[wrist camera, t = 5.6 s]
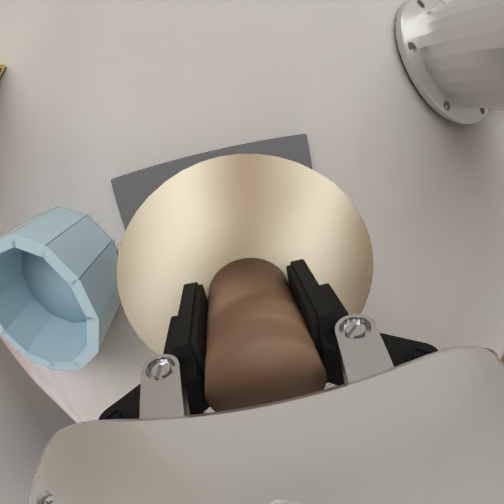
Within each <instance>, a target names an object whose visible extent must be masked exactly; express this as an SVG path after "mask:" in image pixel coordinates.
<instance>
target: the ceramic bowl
mask: <svg viewBox="0 0 504 504" xmlns="http://www.w3.org/2000/svg"><path fill="white" fill-rule="evenodd" d="M117 260H118V254H117V251H116V249H115V246H114V243H113V241H112V239H111V238H110V237H109V236H108V235H107V234H106V233H105V232H104V231H103V230H102V229H101V228H100V227H99V226H98V225H97V224H96V223H95V222H94V221H93V220H92V219H91V218H90V217H89V216H87V215H85V214H82V213H78V212H75V211H71V210H67V209H64V208H60V207H56V208H54V209H51V210H49V211H46V212H44V213H42V214H39V215H37V216H35V217H33V218H31V219H29V220H28V221H26V222H24V223H22V224H21V225H19V226H17V227H16V228H14V229H12V230H11V231H9V232H7V233H6V234H4V235H2V236H1V237H0V333H1V334H2V336H3V337H4V338H5V339H6V340H7V341H8V342H9V343H10V344H11V345H12V346H13V347H15V348H16V349H17V350H18V351H19V352H20V353H21V354H22V355H23V356H24V357H27V359H29V360H31V361H33V362H36V363H38V364H40V365H42V366H45V367H47V368H49V369H52V370H54V371H64V370H81V369H82V368H83V367H84V366H85V365H86V364H87V363H88V362H89V361H90V360H91V359H92V358H93V357H94V356H95V355H96V354H97V353H98V352H99V349H100V347H101V345H102V343H103V340H104V338H105V336H106V333H107V331H108V329H109V327H110V325H111V323H112V320H113V318H114V316H115V314H116V312H117V310H118V308H119V306H120V303H121V300H120V296H119V292H118V285H117Z"/></svg>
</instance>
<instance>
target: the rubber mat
mask: <svg viewBox="0 0 504 504" xmlns="http://www.w3.org/2000/svg"><path fill="white" fill-rule="evenodd" d="M232 154H265V155H271V156H278V157H281V158H284V159H288V160H291V161H294V162H297V163H299V164H302V165H304V166H306V167H308V168H310V169H312V166H311V159H310V153H309V147H308V141H307V135H306V134H301V135H294V136H287V137H281V138H275V139H269V140H263V141H258V142H252V143H247V144H242V145H237V146H232V147H227V148H223V149H218V150H214V151H210V152H205V153H201V154H197V155H193V156H189V157H185V158H181V159H177V160H174V161H170V162H166V163H163V164H159V165H156V166H152V167H149V168H146V169H142V170H139V171H136V172H133V173H130V174H126V175H123V176H120V177H117V178H114V179H112V180H111V183H112V186H113V190H114V194H115V197H116V200H117V204H118V207H119V211H120V214H121V217H122V220H123V223H124V226H125V230H126V229H127V227H128V225H129V223H130V222H131V220H132V218H133V216H134V215H135V213H136V211H137V210H138V209H139V208H140V206H141V205H142V204H143V203H144V202H145V200H146V199H147V198H148V197H149V196H150V195H151V194H152V193H153V192H154V191H155V190H157V189H158V188H159V187H160V186H161V185H162V184H163V183H164V182H166V181H167V180H168V179H170V178H171V177H173V176H174V175H176V174H177V173H179V172H180V171H182V170H184V169H186V168H188V167H190V166H193V165H195V164H197V163H199V162H202V161H205V160H209V159H212V158H215V157H219V156H225V155H232Z"/></svg>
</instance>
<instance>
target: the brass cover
mask: <svg viewBox="0 0 504 504" xmlns="http://www.w3.org/2000/svg"><path fill="white" fill-rule="evenodd" d="M300 259H304V261H305V262H306V264H307V266H308V267H309V269H310V271H311V272H312V274H313V275H314V277H315V279H316V280H317V282H318V284H319V285H322V284H326V283H329V285H330V286H331V287H332V289H333V290H334V292H335V293H336V295H337V297H338V298H339V300H340V301H341V303H342V304H343V306H344V307H345V309H346V310H347V312H348V314H349V315H352V314H360V313H361V311H362V309H363V307H364V305H365V303H366V300H367V297H368V294H369V290H370V286H371V282H372V273H373V254H372V247H371V242H370V237H369V234H368V231H367V229H366V226H365V223H364V221H363V219H362V217H361V216H360V214H359V212H358V210H357V208H356V207H355V206H354V204H353V203H352V202H351V200H350V199H349V198H348V197H347V195H346V194H345V193H344V192H343V191H342V190H340V189H339V188H338V187H337V186H336V185H335V184H334V183H333V182H332V181H330V180H329V179H327V178H326V177H324V176H323V175H321V174H320V173H318V172H316V171H314V170H312V169H310V168H308V167H306V166H304V165H302V164H299V163H297V162H294V161H291V160H288V159H284V158H281V157H278V156H271V155H265V154H232V155H225V156H219V157H215V158H212V159H209V160H205V161H202V162H199V163H197V164H195V165H193V166H190V167H188V168H186V169H184V170H182V171H180V172H179V173H177V174H176V175H174V176H173V177H171V178H170V179H168V180H167V181H166V182H164V183H163V184H162V185H161V186H160V187H159V188H158V189H157V190H155V191H154V192H153V193H152V194H151V195H150V196H149V197H148V198H147V199H146V200H145V202H144V203H143V204H142V205H141V206H140V208H139V209H138V210H137V211H136V213H135V215H134V216H133V218H132V220H131V222H130V223H129V225H128V227H127V229H126V232H125V234H124V237H123V239H122V242H121V246H120V250H119V255H118V260H117V285H118V292H119V296H120V300H121V304H122V307H123V309H124V312H125V314H126V317H127V319H128V320H129V322H130V324H131V326H132V327H133V329H134V331H135V332H136V333H137V335H138V336H139V337H140V338H141V340H142V341H143V342H144V343H145V344H146V345H147V346H148V347H149V348H150V349H151V350H152V351H153V352H154V353H155V354H157V355H161V354H163V352H164V347H165V343H166V338H167V333H168V328H169V324H170V319H171V317H172V316H177V315H178V311H179V306H180V301H181V296H182V292H183V287H184V284H189V283H194V282H197V283H198V285H200V284H202V285H203V287H204V290H205V293H206V296H207V299H208V311H207V332H206V358H205V398H206V400H207V403H208V404H209V406H210V407H211V408H212V409H213V410H214V411H215V412H219V411H226V410H233V409H239V408H245V407H251V406H256V405H262V404H267V403H272V402H276V401H281V400H286V399H290V398H294V397H298V396H302V395H306V394H310V393H314V392H318V391H322V390H324V388H325V385H326V380H327V376H326V371H325V369H324V366H323V364H322V361H321V359H320V356H319V354H318V351H317V349H316V347H315V344H314V342H313V340H312V337H311V335H310V333H309V330H308V328H307V325H306V323H305V321H304V318H303V316H302V314H301V311H300V309H299V306H298V304H297V302H296V299H295V297H294V295H293V292H292V290H291V288H290V285H289V282H288V275H287V268H286V266H288V265H290V262H291V261H295V260H300Z"/></svg>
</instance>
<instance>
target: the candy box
mask: <svg viewBox="0 0 504 504" xmlns="http://www.w3.org/2000/svg"><path fill="white" fill-rule="evenodd" d="M5 68H6V66H5V65H4V64H2V63H0V77H1V76H2V74H3V72H4V70H5Z"/></svg>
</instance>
